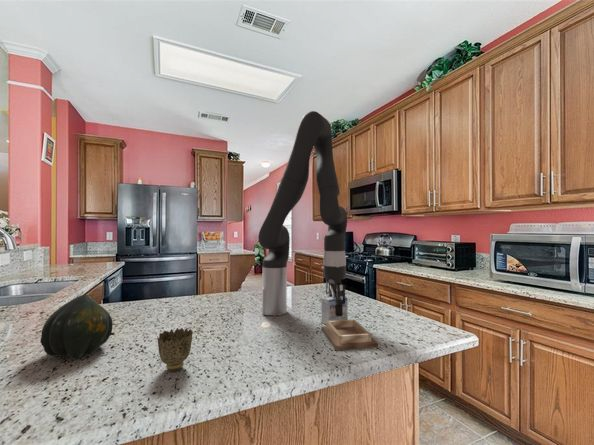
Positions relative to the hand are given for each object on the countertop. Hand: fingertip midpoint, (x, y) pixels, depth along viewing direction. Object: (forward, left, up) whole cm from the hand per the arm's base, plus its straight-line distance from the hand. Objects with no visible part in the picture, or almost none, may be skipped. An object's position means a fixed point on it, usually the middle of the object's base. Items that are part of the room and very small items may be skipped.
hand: (335, 312), depth 96 cm
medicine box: (0, 0, -4) cm, 4 cm away
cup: (-45, -24, -4) cm, 51 cm away
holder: (0, -13, -4) cm, 13 cm away
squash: (-72, -11, -4) cm, 73 cm away
